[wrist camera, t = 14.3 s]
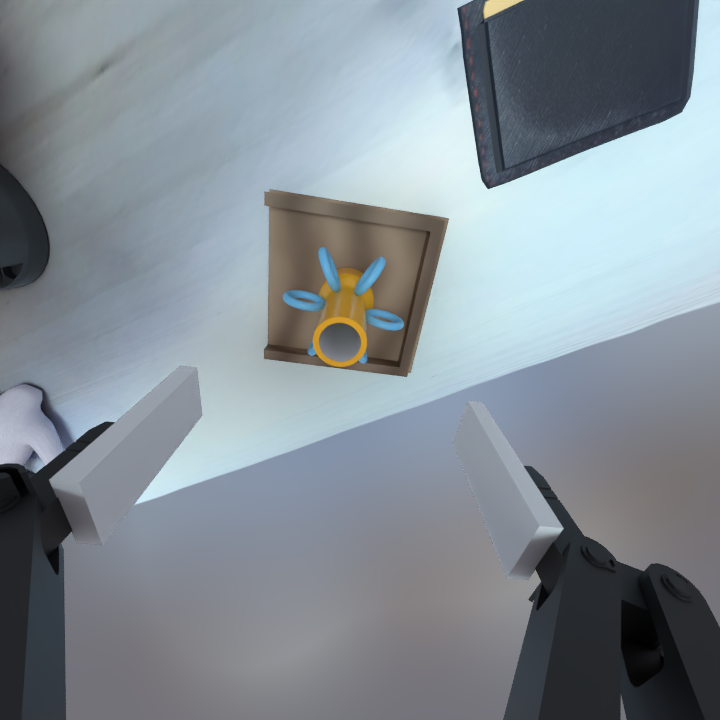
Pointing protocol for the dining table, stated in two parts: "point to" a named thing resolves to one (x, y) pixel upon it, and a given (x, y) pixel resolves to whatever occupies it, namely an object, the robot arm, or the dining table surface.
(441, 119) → the dining table surface
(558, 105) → the wallet
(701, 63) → the dining table surface
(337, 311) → the cylinder
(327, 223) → the open-sided tray
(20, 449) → the yeti figurine
